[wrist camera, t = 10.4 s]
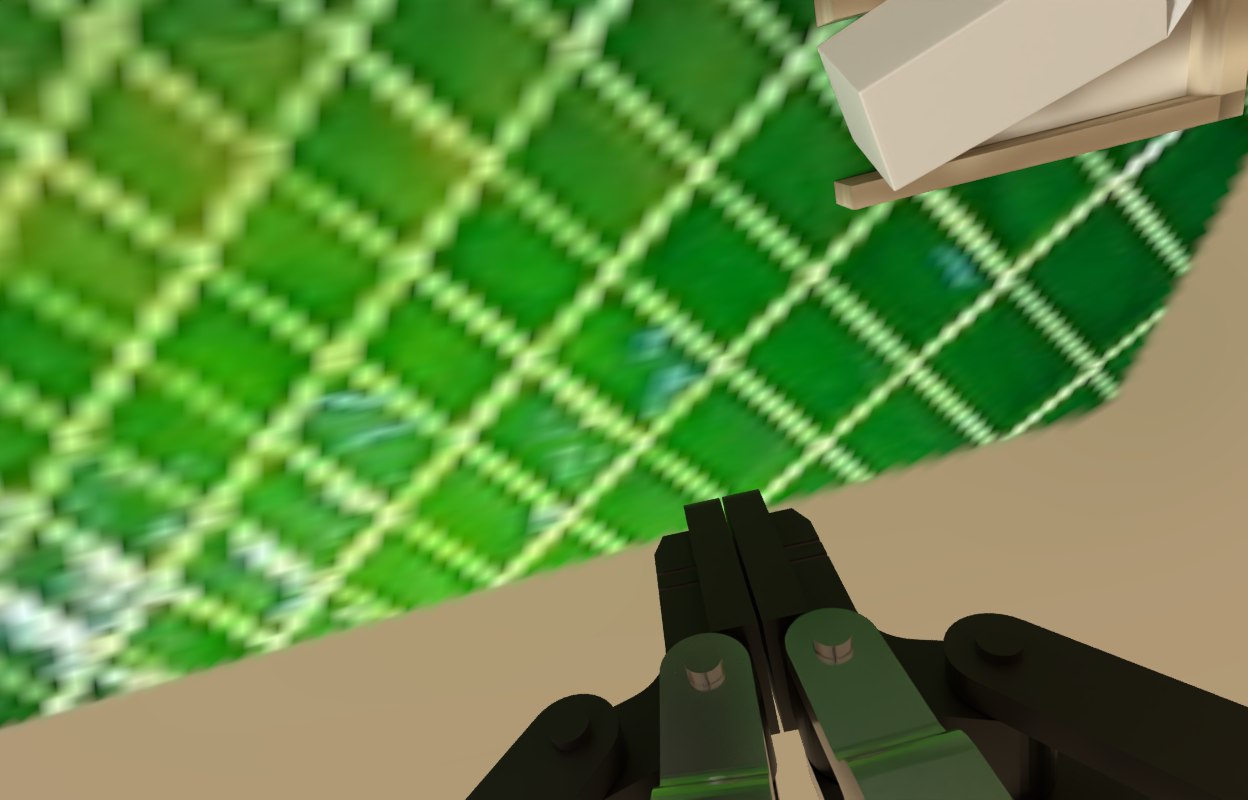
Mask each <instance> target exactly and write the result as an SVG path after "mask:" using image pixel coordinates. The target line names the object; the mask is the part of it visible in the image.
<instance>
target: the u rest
mask: <svg viewBox="0 0 1248 800" xmlns="http://www.w3.org/2000/svg"><path fill="white" fill-rule="evenodd" d="M885 1H886V0H815V1H814V4H815V13H816V22H817V27H820V26H824V25H828V24H831V23H835V22H839V21H843V20H847V19H850V18H854V17H858V16H862V15H865V14H867V13H868V12H870V11H871V10H873V9H874V8H876V7H877V6H879V5H880V4H882V3H883V2H885ZM1247 73H1248V0H1192V1H1191V3H1190V4H1189V6H1188V7H1187V9H1186V10H1185V12H1184V13H1183V15H1182V16H1181V18H1180V19H1179V21H1178V23H1177V24H1176V26H1175V27H1174V29H1173V30H1172V32H1171V33H1170V35H1169V36H1168V38H1167V39H1164V40H1162V41H1160V42H1159V43H1157V44H1155V45H1153V46H1152V47H1150V48H1148V49H1146V50H1145V51H1143V52H1141V53H1139V54H1137V55H1136V56H1134V57H1132V58H1130V59H1129V60H1127V61H1125V62H1123V63H1122V64H1120V65H1118V66H1116V67H1114V68H1113V69H1111V70H1109V71H1107V72H1106V73H1104V74H1102V75H1100V76H1099V77H1097V78H1095V79H1093V80H1091V81H1090V82H1088V83H1086V84H1084V85H1083V86H1081V87H1079V88H1077V89H1076V90H1074V91H1072V92H1070V93H1068V94H1067V95H1065V96H1063V97H1061V98H1060V99H1058V100H1056V101H1054V102H1053V103H1051V104H1049V105H1047V106H1045V107H1044V108H1042V109H1040V110H1038V111H1037V112H1035V113H1033V114H1031V115H1030V116H1028V117H1026V118H1024V119H1022V120H1021V121H1019V122H1017V123H1015V124H1014V125H1012V126H1010V127H1008V128H1007V129H1005V130H1003V131H1001V132H999V133H998V134H996V135H994V136H992V137H991V138H989V139H987V140H985V141H984V142H982V143H980V144H978V145H976V146H975V147H973V148H971V149H969V150H968V151H966V152H964V153H962V154H960V155H959V156H957V157H955V158H953V159H952V160H950V161H948V162H946V163H945V164H943V165H941V166H939V167H937V168H936V169H934V170H932V171H930V172H929V173H927V174H925V175H923V176H922V177H920V178H918V179H916V180H914V181H913V182H911V183H909V184H907V185H906V186H904V187H902V188H900V189H898V190H896V191H894V190H893V189H892V188H891V187H890V186H889V184H888V183H887V182H886V181H885V179H884V178H883V177H882V176H881V174H880V173H879V172H878V171H875V172H871V173H867V174H863V175H858V176H854V177H850V178H846V179H842V180H838V181H834V185H835V195H836V203H837V204H839V205H842V206H845V207H847V208H850V209H853V210H855V209H860V208H864V207H868V206H872V205H876V204H880V203H884V202H888V201H892V200H896V199H900V198H904V197H909V196H913V195H917V194H921V193H925V192H929V191H933V190H937V189H941V188H945V187H949V186H953V185H958V184H962V183H966V182H970V181H974V180H978V179H982V178H986V177H990V176H994V175H998V174H1002V173H1007V172H1011V171H1015V170H1019V169H1023V168H1027V167H1031V166H1035V165H1039V164H1043V163H1047V162H1051V161H1056V160H1060V159H1064V158H1068V157H1072V156H1076V155H1080V154H1084V153H1088V152H1092V151H1096V150H1100V149H1105V148H1109V147H1113V146H1117V145H1121V144H1125V143H1129V142H1133V141H1137V140H1141V139H1145V138H1149V137H1154V136H1158V135H1162V134H1166V133H1170V132H1174V131H1178V130H1182V129H1186V128H1190V127H1194V126H1198V125H1203V124H1207V123H1211V122H1215V121H1219V120H1223V119H1227V118H1231V117H1235V116H1239V115H1243V108H1244V99H1245V90H1246V81H1247Z"/></svg>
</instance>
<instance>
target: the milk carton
mask: <svg viewBox="0 0 1248 800" xmlns="http://www.w3.org/2000/svg"><path fill="white" fill-rule="evenodd" d="M1191 1H1192V0H886V1H885V2H883V3H882V4H880V5H879V6H877V7H876V8H874V9H873V10H871V11H870V12H868V13H867V14H865V15H864V16H862V17H861V18H859V19H858V20H856V21H855V22H853V23H852V24H850V25H849V26H847V27H846V28H844V29H842V30H841V31H839V32H838V33H836V34H835V35H833V36H832V37H830V38H829V39H827V40H826V41H824V42H823V43H821V44H820V45H819V46H817V49H818V51H819V54H820V57H821V59H822V62H823V65H824V67H825V70H826V73H827V75H828V78H829V80H830V83H831V86H832V88H833V91H834V93H835V96H836V98H837V101H838V103H839V106H840V108H841V111H842V113H843V116H844V118H845V121H846V123H847V126H848V128H849V130H850V133H851V135H852V138H853V140H854V141H855V143H856V144H857V145H858V147H859V148H860V149H861V150H862V152H863V153H864V154H865V155H866V157H867V158H868V159H869V160H870V162H871V163H872V164H873V165H874V167H875V168H876V169H877V170H878V172H879V173H880V174H881V176H882V177H883V178H884V179H885V181H886V182H887V183H888V184H889V186H890V187H891V188H892V189H893V190H894V191H896V190H898V189H900V188H902V187H904V186H906V185H907V184H909V183H911V182H913V181H914V180H916V179H918V178H920V177H922V176H923V175H925V174H927V173H929V172H930V171H932V170H934V169H936V168H937V167H939V166H941V165H943V164H945V163H946V162H948V161H950V160H952V159H953V158H955V157H957V156H959V155H960V154H962V153H964V152H966V151H968V150H969V149H971V148H973V147H975V146H976V145H978V144H980V143H982V142H984V141H985V140H987V139H989V138H991V137H992V136H994V135H996V134H998V133H999V132H1001V131H1003V130H1005V129H1007V128H1008V127H1010V126H1012V125H1014V124H1015V123H1017V122H1019V121H1021V120H1022V119H1024V118H1026V117H1028V116H1030V115H1031V114H1033V113H1035V112H1037V111H1038V110H1040V109H1042V108H1044V107H1045V106H1047V105H1049V104H1051V103H1053V102H1054V101H1056V100H1058V99H1060V98H1061V97H1063V96H1065V95H1067V94H1068V93H1070V92H1072V91H1074V90H1076V89H1077V88H1079V87H1081V86H1083V85H1084V84H1086V83H1088V82H1090V81H1091V80H1093V79H1095V78H1097V77H1099V76H1100V75H1102V74H1104V73H1106V72H1107V71H1109V70H1111V69H1113V68H1114V67H1116V66H1118V65H1120V64H1122V63H1123V62H1125V61H1127V60H1129V59H1130V58H1132V57H1134V56H1136V55H1137V54H1139V53H1141V52H1143V51H1145V50H1146V49H1148V48H1150V47H1152V46H1153V45H1155V44H1157V43H1159V42H1160V41H1162V40H1164V39H1167V38H1168V36H1169V35H1170V33H1171V32H1172V30H1173V29H1174V27H1175V26H1176V24H1177V23H1178V21H1179V19H1180V18H1181V16H1182V15H1183V13H1184V12H1185V10H1186V9H1187V7H1188V6H1189V4H1190V3H1191Z"/></svg>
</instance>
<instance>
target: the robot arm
mask: <svg viewBox="0 0 1248 800" xmlns="http://www.w3.org/2000/svg"><path fill="white" fill-rule="evenodd" d="M722 500H723V506H724V511H725V515H726V518H725V515H724V511H723V508H722V505H721V502H720V499H719V498H716V499H711V500H707V501H702V502H698V503H693V504H689V505H684V510H685V515H686V520H687V525H688V529H689V531H686V532H681V533H676V534H672V535H667V536H663V537H662V540H661V542H660V544H659V546H658V548H657V550H656V552H655V555H654V556H655V564H656V573H657V581H658V589H659V597H660V606H661V614H662V622H663V631H664V639H665V648H666V655H665V657H664V658H663V660H662V663H661V666H660V674H659V675H658V676H657V678H656V679H655V680H654V681H653V683H651V684H650V685H649V686H648V687H647V688H646V689H645V690H644V691H642V692H641V693H639V694H637V695H635V696H634V697H632V698H630V699H628V700H626V701H624V702H622V703H620V704H618V705H616V706H614V707H613V706H612V705H611V704H610V703H609V702H607V700H605V699H603V698H601V697H599V696H596V695H590V694H577V695H571V696H568V697H565V698H563V699H560V700H558V701H556V702H554V703H553V704H551V705H550V706H548V707H547V708H546V709H544V710H543V711H542V712H541V713H540V714H539V715H538V716H537V717H536V719H535V720H534V721H533V722H532V723H531V724H530V726H529V727H528V728H527V729H526V730H525V731H524V732H523V734H522V735H521V736H520V737H519V738H518V740H517V741H516V742H515V743H514V744H513V745H512V746H511V748H510V749H509V750H508V751H507V752H506V753H505V754H504V756H503V757H502V758H501V759H500V760H499V761H498V763H497V764H496V765H495V766H494V767H493V768H492V770H491V771H490V772H489V773H488V774H487V775H486V776H485V778H484V779H483V780H482V781H481V782H480V783H479V785H478V786H477V787H476V788H475V789H474V790H473V791H472V793H471V794H470V795H469V796H468V797H467V798H466V800H780V798H779V793H778V787H777V782H776V778H775V776H776V771H777V763H776V758H775V752H774V747H773V743H772V738H771V735H773V734H777V733H780V730H779V725H778V720H777V715H776V710H775V705H774V700H773V696H774V699H775V702H776V706H777V709H778V713H779V716H780V719H781V723H782V726H783V730H784V732H786V731H792V730H797V729H798V730H799V733H800V736H801V740H802V743H803V746H804V749H805V754H806V759H807V764H808V770H809V774H810V777H811V780H812V782H813V785H814V788H815V790H816V792H817V795H818V797H819V800H1248V707H1246V706H1244V705H1241V704H1238V703H1236V702H1233V701H1231V700H1228V699H1225V698H1223V697H1220V696H1218V695H1215V694H1213V693H1210V692H1207V691H1205V690H1202V689H1199V688H1197V687H1195V686H1192V685H1189V684H1187V683H1184V682H1181V681H1179V680H1176V679H1174V678H1171V677H1169V676H1166V675H1163V674H1161V673H1158V672H1156V671H1153V670H1151V669H1148V668H1145V667H1143V666H1140V665H1138V664H1135V663H1132V662H1130V661H1127V660H1125V659H1122V658H1120V657H1117V656H1114V655H1112V654H1109V653H1107V652H1104V651H1102V650H1099V649H1096V648H1093V647H1091V646H1089V645H1086V644H1083V643H1081V642H1078V641H1075V640H1073V639H1071V638H1068V637H1065V636H1063V635H1060V634H1058V633H1055V632H1052V631H1050V630H1047V629H1045V628H1042V627H1040V626H1037V625H1034V624H1032V623H1029V622H1027V621H1024V620H1021V619H1018V618H1015V617H1012V616H1008V615H1003V614H994V613H984V614H975V615H971V616H967V617H965V618H962V619H960V620H958V621H957V622H955V623H954V624H953V625H951V627H949V629H948V630H947V632H946V634H945V637H944V641H937V640H917V639H906V638H900V637H895V636H892V635H889V634H886V633H884V632H882V631H879V630H878V629H877V628H876V627H875V626H874V624H873V623H872V622H871V621H870V620H868V619H867V618H865V617H864V616H862V615H861V614H858V612H857V611H856V609H855V607H854V605H853V603H852V601H851V599H850V597H849V595H848V593H847V591H846V589H845V587H844V585H843V584H842V582H841V580H840V578H839V576H838V574H837V572H836V570H835V568H834V566H833V564H832V562H831V560H830V558H829V557H828V556H827V553H826V550H825V549H824V547H823V545H822V543H821V542H820V540H819V537H818V535H817V533H816V531H815V529H814V527H813V525H812V523H811V521H809V520H808V519H807V518H805V517H804V516H802V515H801V514H799V513H798V512H797V511H795V510H794V509H792V508H790V509H786V510H781V511H777V512H772V513H769V512H768V510H767V508H766V505H765V503H764V500H763V498H762V496H761V493H760V491H759V489H756V490H752V491H747V492H743V493H738V494H733V495H729V496H724V497H722ZM726 520H727V521H726ZM771 689H772V690H771ZM772 692H773V695H772Z"/></svg>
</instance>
